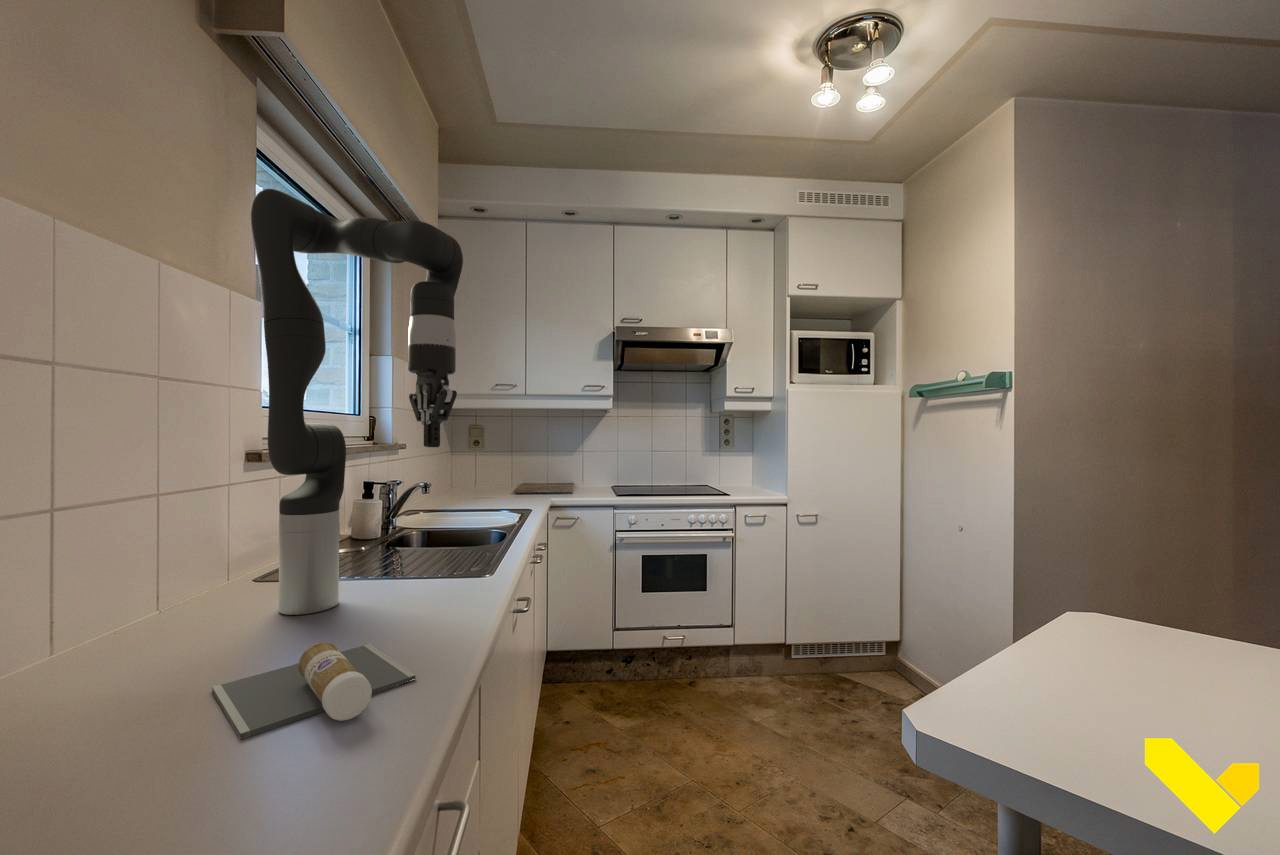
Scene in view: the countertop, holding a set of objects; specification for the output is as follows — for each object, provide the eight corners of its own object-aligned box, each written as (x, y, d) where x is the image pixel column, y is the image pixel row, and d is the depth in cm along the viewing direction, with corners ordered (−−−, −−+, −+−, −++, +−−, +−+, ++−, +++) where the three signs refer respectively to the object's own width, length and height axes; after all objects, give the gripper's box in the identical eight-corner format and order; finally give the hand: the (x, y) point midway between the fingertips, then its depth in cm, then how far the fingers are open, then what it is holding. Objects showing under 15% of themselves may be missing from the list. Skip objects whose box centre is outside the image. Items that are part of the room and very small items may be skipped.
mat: (212, 692, 64) (212, 686, 64) (368, 648, 77) (369, 643, 77) (240, 739, 54) (240, 733, 54) (415, 680, 67) (415, 674, 67)
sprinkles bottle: (321, 633, 67) (354, 668, 57) (346, 655, 69) (382, 692, 59) (287, 665, 64) (316, 706, 55) (314, 687, 66) (346, 730, 57)
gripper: (472, 343, 89) (472, 447, 89) (435, 352, 98) (434, 446, 98) (429, 337, 84) (428, 448, 83) (393, 347, 92) (392, 447, 92)
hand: (431, 447), depth 90 cm, fingers closed
